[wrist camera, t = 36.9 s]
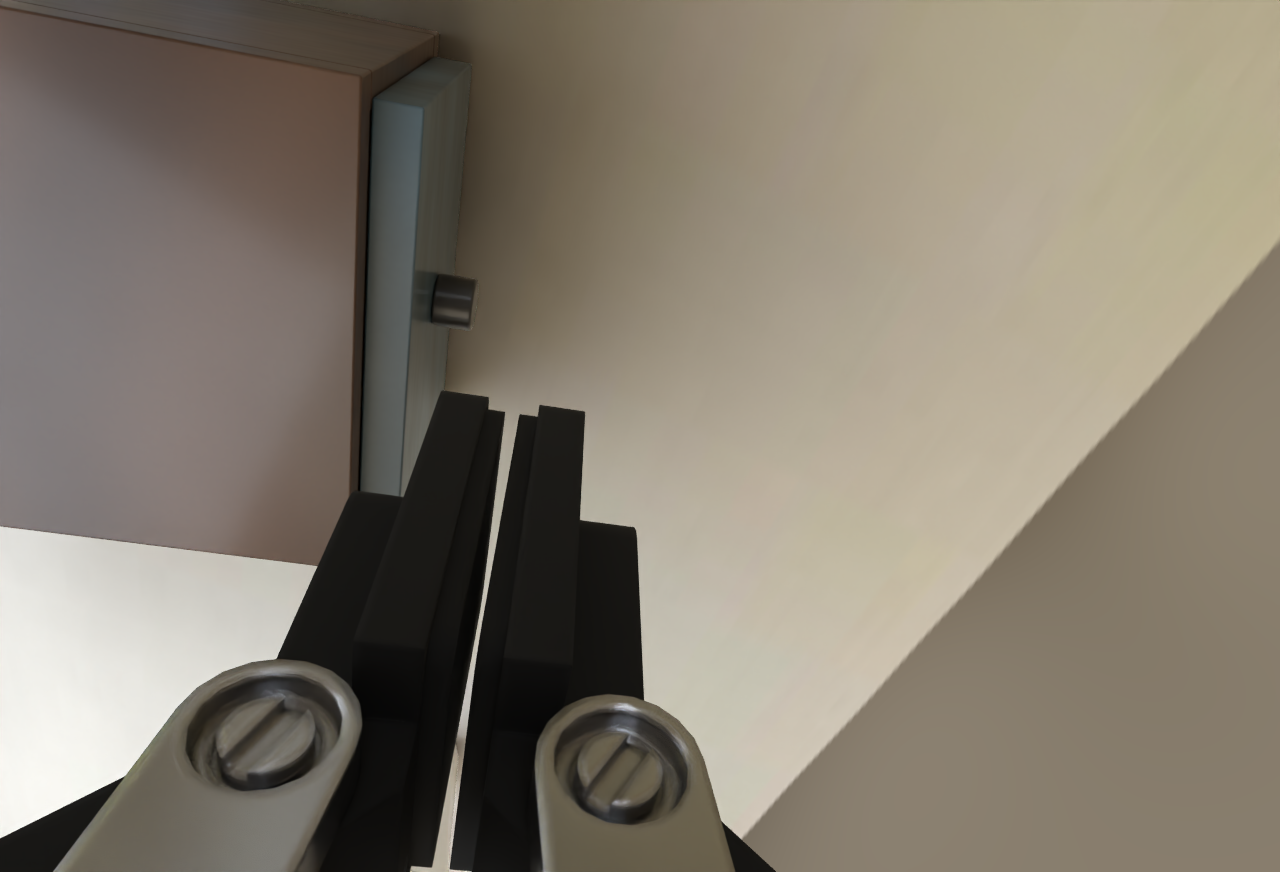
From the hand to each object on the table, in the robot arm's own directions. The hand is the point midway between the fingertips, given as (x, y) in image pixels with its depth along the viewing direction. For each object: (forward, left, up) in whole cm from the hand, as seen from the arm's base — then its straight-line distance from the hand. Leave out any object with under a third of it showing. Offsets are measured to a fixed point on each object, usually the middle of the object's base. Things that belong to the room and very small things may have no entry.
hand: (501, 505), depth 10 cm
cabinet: (+11, -5, -21) cm, 25 cm away
